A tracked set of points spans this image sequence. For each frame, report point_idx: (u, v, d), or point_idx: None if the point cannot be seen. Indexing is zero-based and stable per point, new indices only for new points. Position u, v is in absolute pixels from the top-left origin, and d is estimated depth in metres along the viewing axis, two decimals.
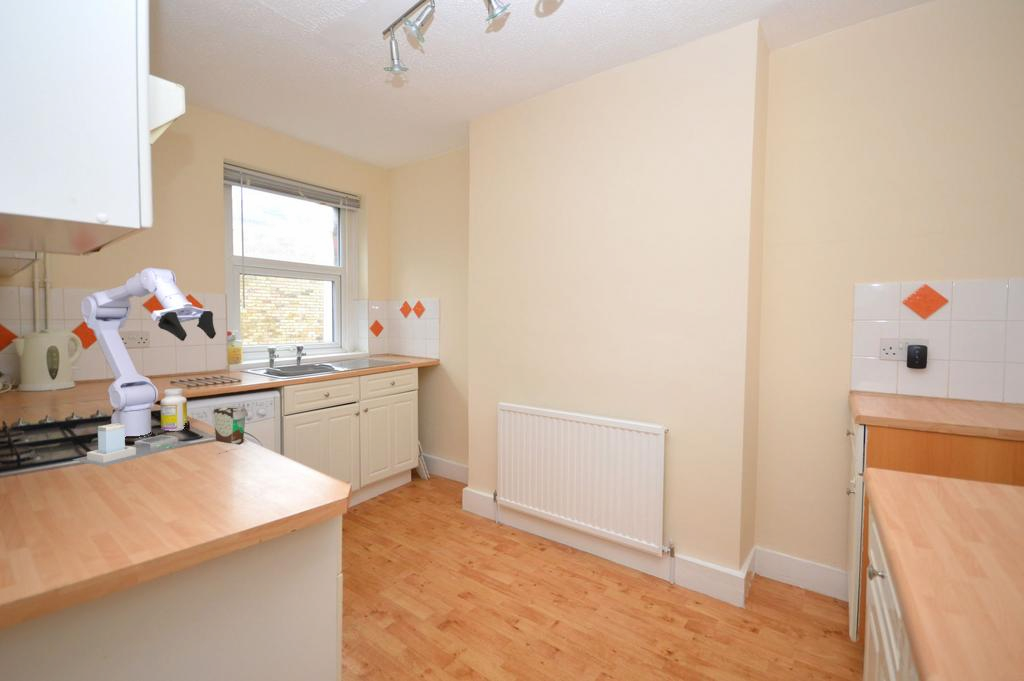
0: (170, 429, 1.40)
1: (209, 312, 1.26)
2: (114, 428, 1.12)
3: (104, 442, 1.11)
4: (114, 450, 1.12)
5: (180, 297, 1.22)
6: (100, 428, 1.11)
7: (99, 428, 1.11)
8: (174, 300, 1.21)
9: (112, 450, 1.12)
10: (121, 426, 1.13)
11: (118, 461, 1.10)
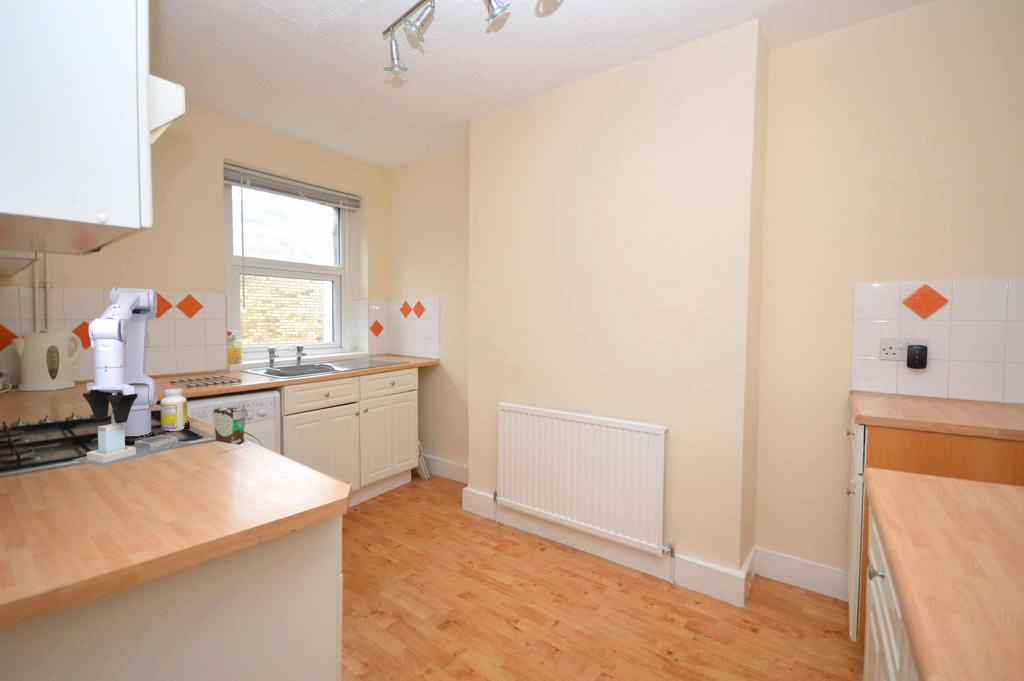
0: (170, 429, 1.40)
1: (111, 398, 1.08)
2: (114, 428, 1.12)
3: (104, 442, 1.11)
4: (114, 450, 1.12)
5: (96, 373, 1.09)
6: (100, 428, 1.11)
7: (99, 428, 1.11)
8: (94, 375, 1.10)
9: (112, 450, 1.12)
10: (121, 426, 1.13)
11: (118, 461, 1.10)
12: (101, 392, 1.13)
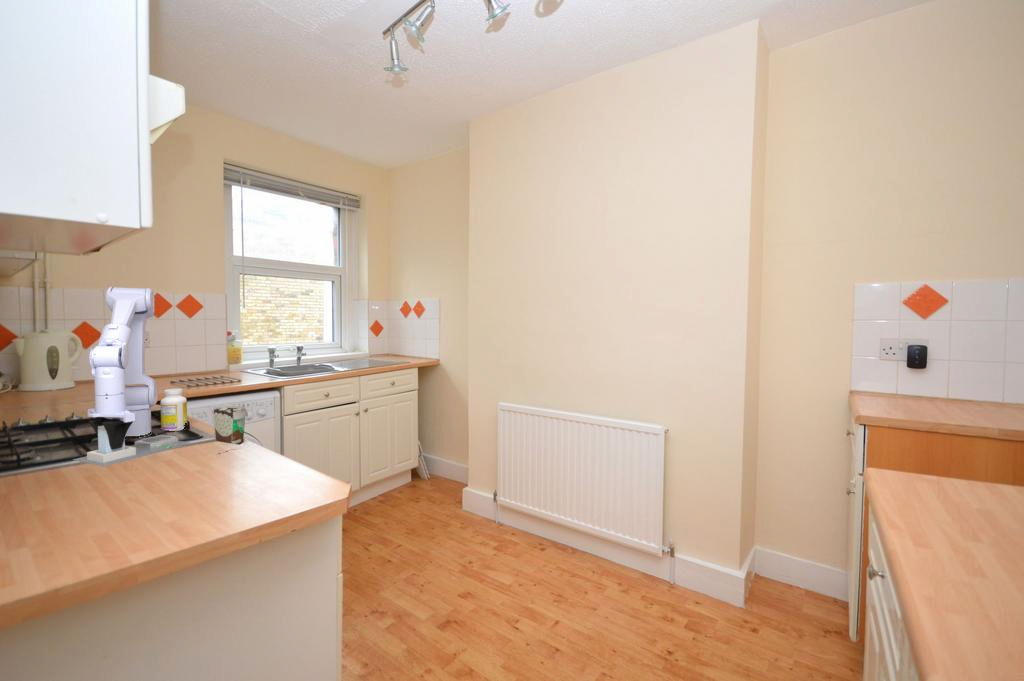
0: (170, 429, 1.40)
1: (106, 425, 1.09)
2: None
3: (104, 442, 1.11)
4: (114, 450, 1.12)
5: (96, 400, 1.09)
6: (100, 428, 1.11)
7: (99, 428, 1.11)
8: (95, 402, 1.10)
9: (112, 450, 1.12)
10: None
11: (118, 461, 1.10)
12: (107, 419, 1.13)
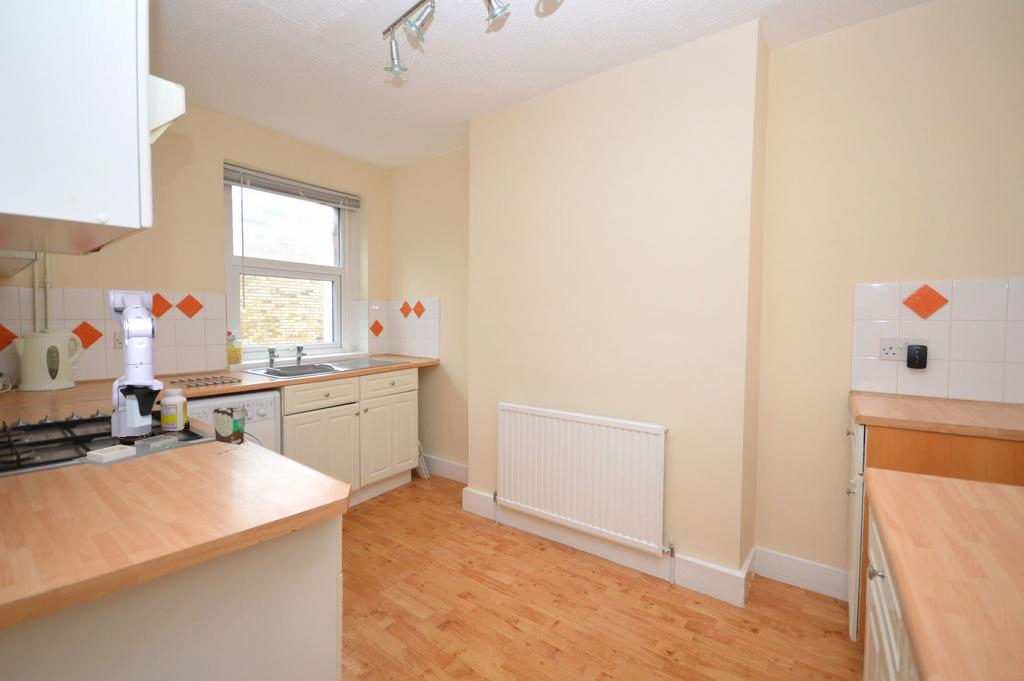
0: (170, 429, 1.40)
1: (136, 392, 1.15)
2: None
3: (132, 410, 1.16)
4: (141, 418, 1.18)
5: (127, 369, 1.15)
6: (128, 397, 1.16)
7: (127, 397, 1.16)
8: (126, 371, 1.17)
9: (140, 418, 1.17)
10: None
11: (118, 461, 1.10)
12: (136, 388, 1.19)
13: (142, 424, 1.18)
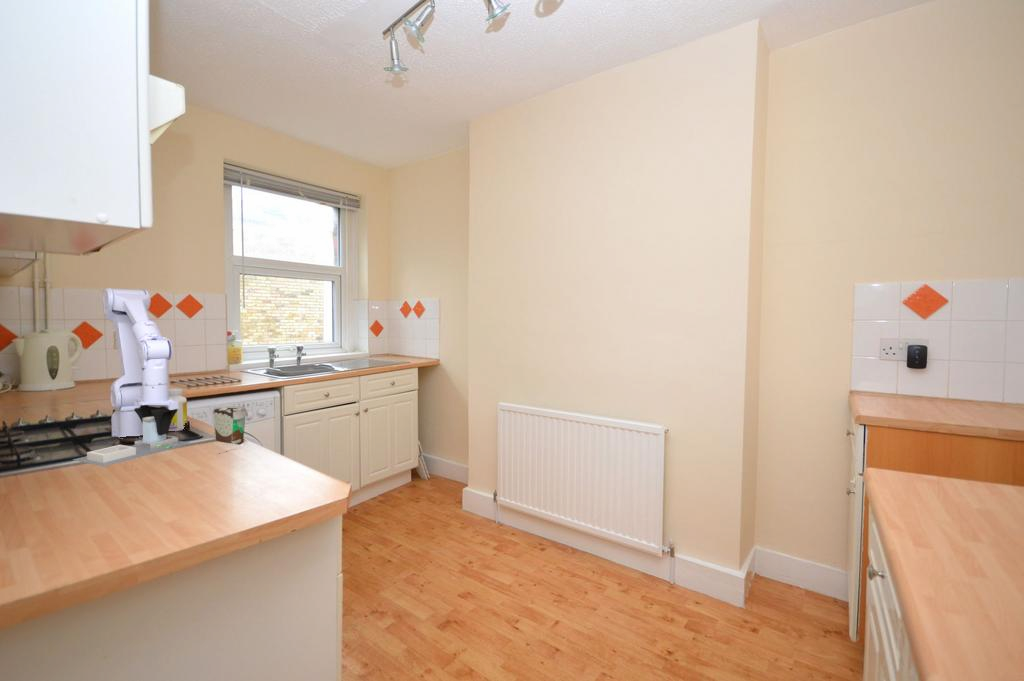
0: (170, 429, 1.40)
1: (154, 412, 1.19)
2: None
3: (148, 432, 1.20)
4: (157, 440, 1.21)
5: (144, 390, 1.19)
6: (145, 419, 1.20)
7: (144, 419, 1.20)
8: (142, 392, 1.20)
9: (155, 440, 1.21)
10: None
11: (118, 461, 1.10)
12: (150, 407, 1.23)
13: None
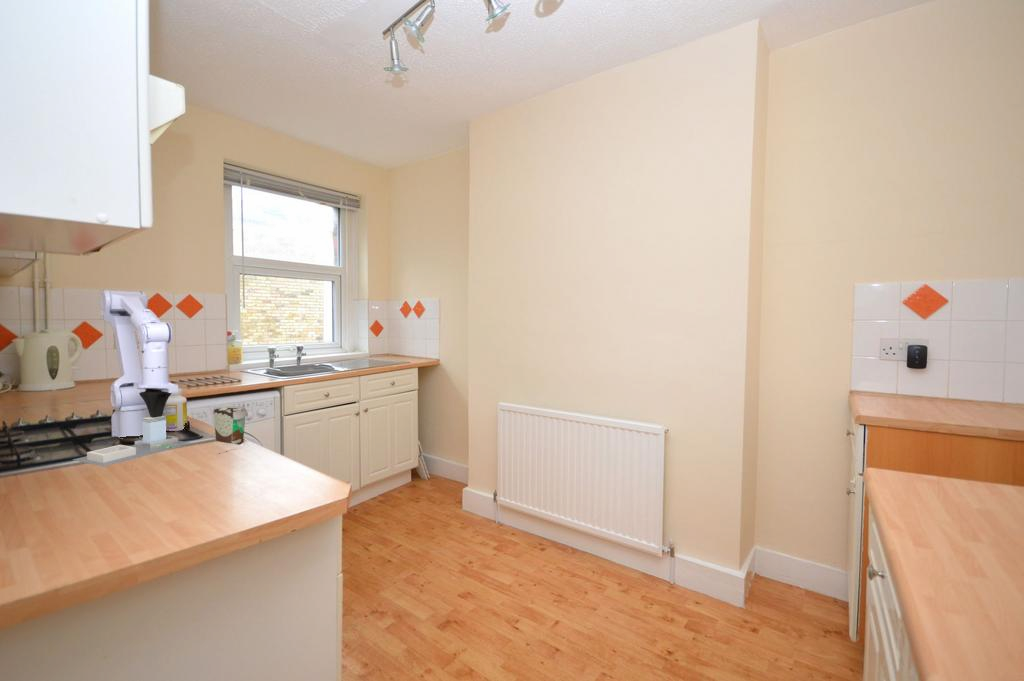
0: (170, 429, 1.40)
1: (148, 395, 1.19)
2: (157, 420, 1.21)
3: (148, 432, 1.20)
4: (157, 440, 1.21)
5: (143, 373, 1.19)
6: (144, 419, 1.20)
7: (144, 419, 1.20)
8: (141, 375, 1.20)
9: (155, 440, 1.21)
10: (163, 417, 1.23)
11: (118, 461, 1.10)
12: None
13: None
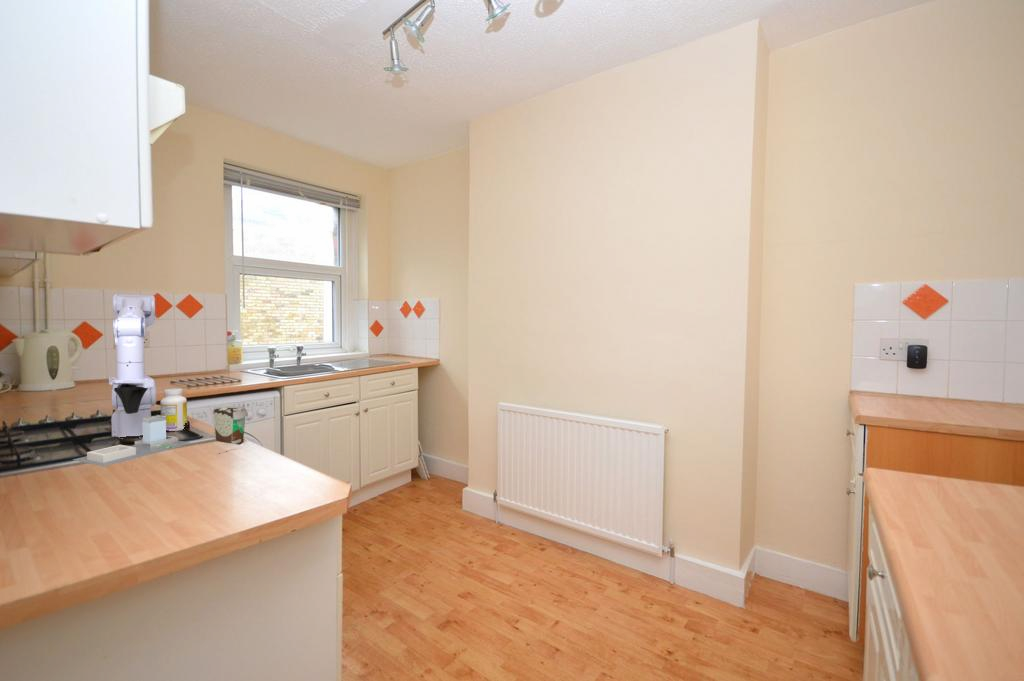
0: (170, 429, 1.40)
1: (123, 390, 1.17)
2: (157, 420, 1.21)
3: (148, 432, 1.20)
4: (157, 440, 1.21)
5: (118, 368, 1.17)
6: (144, 419, 1.20)
7: (144, 419, 1.20)
8: None
9: (155, 440, 1.21)
10: (163, 417, 1.23)
11: (118, 461, 1.10)
12: None
13: None
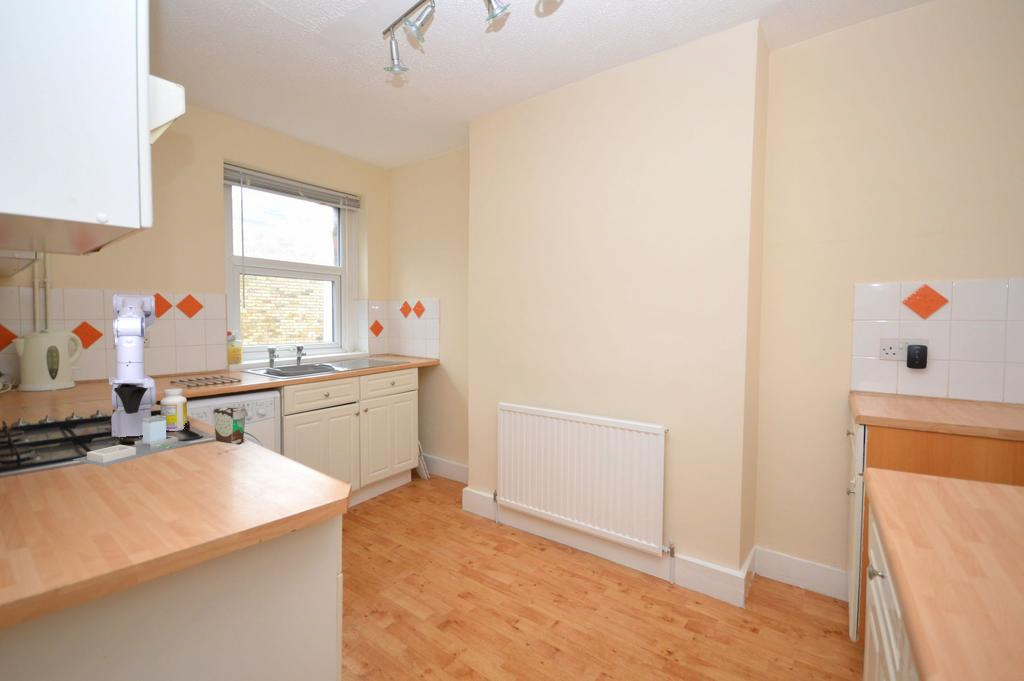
0: (170, 429, 1.40)
1: (123, 390, 1.17)
2: (157, 420, 1.21)
3: (148, 432, 1.20)
4: (157, 440, 1.21)
5: (118, 368, 1.17)
6: (144, 419, 1.20)
7: (144, 419, 1.20)
8: None
9: (155, 440, 1.21)
10: (163, 417, 1.23)
11: (118, 461, 1.10)
12: None
13: None
